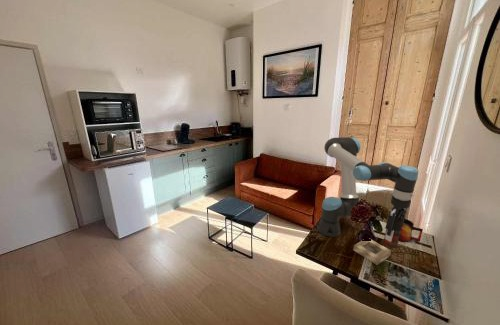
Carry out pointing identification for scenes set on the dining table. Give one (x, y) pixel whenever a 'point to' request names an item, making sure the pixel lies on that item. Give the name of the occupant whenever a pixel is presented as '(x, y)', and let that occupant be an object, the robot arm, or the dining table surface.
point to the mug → (408, 232)
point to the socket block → (372, 251)
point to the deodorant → (394, 234)
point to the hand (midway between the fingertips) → (391, 237)
